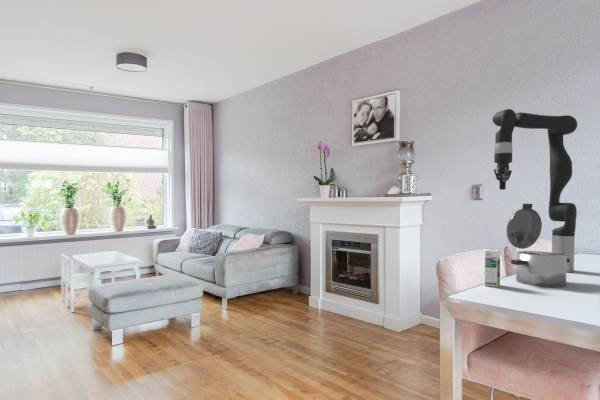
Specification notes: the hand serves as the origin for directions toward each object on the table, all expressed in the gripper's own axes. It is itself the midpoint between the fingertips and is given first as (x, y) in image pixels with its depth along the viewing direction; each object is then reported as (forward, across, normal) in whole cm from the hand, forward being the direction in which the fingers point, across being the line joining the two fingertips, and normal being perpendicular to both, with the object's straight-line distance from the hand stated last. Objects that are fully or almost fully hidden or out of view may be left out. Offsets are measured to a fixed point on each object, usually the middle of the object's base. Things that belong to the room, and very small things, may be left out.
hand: (502, 189), depth 190 cm
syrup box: (+40, +31, +11) cm, 52 cm away
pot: (+39, +8, +21) cm, 45 cm away
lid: (+16, +5, +13) cm, 22 cm away
